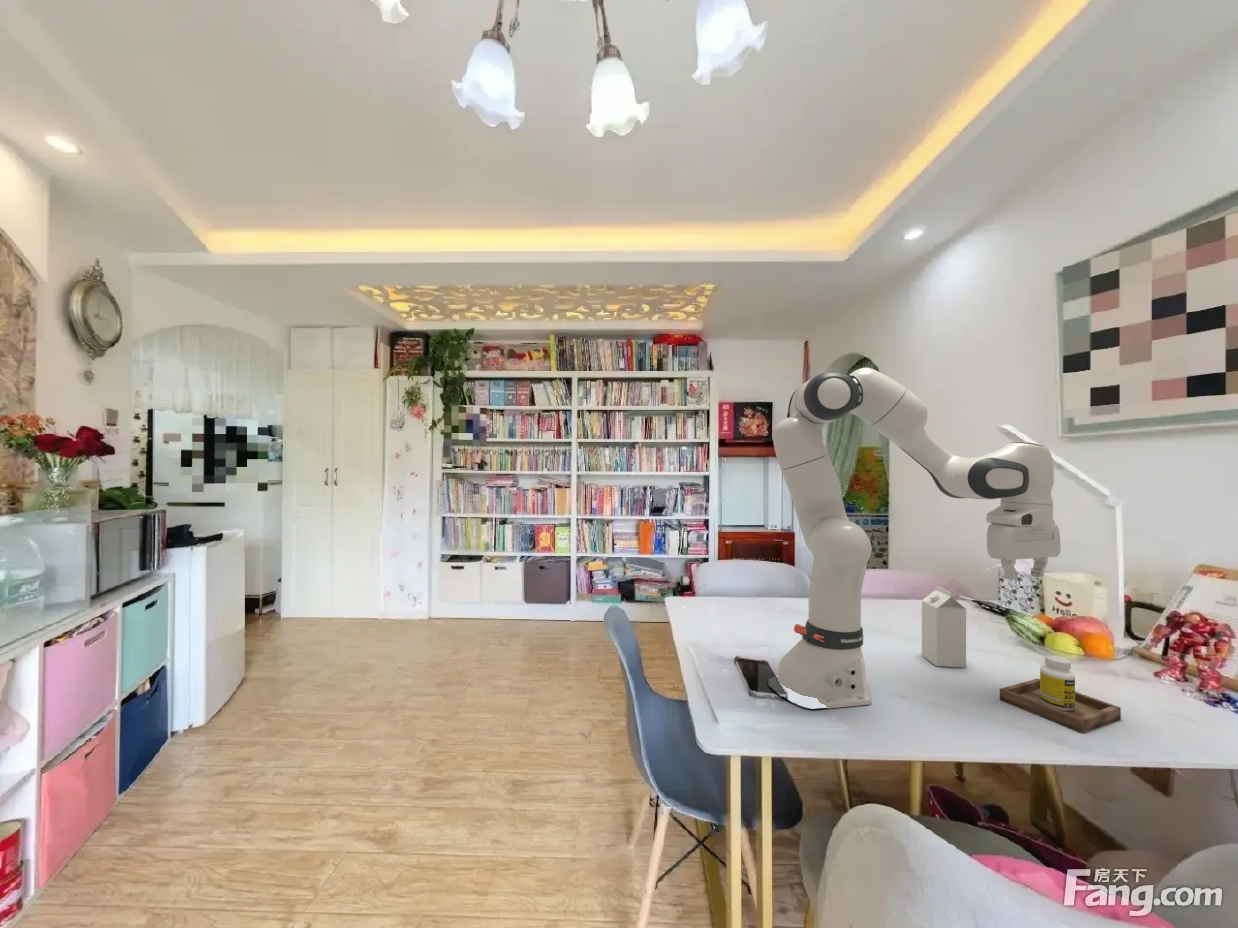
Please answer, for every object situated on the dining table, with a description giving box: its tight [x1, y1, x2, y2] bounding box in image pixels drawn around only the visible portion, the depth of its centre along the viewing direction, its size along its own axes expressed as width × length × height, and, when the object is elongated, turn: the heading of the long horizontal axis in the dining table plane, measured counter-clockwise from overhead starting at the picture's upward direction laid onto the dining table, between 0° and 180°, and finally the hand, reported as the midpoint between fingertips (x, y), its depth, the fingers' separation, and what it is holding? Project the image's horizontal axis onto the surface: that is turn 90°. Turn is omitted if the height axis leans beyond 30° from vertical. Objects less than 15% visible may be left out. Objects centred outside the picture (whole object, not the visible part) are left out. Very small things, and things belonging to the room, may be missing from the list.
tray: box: [999, 678, 1122, 734], centre depth 99 cm, size 14×14×2 cm
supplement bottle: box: [1039, 654, 1076, 711], centre depth 99 cm, size 5×5×10 cm
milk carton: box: [921, 585, 967, 669], centre depth 123 cm, size 7×7×19 cm
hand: (1024, 578), depth 104 cm, fingers open, 8 cm apart
